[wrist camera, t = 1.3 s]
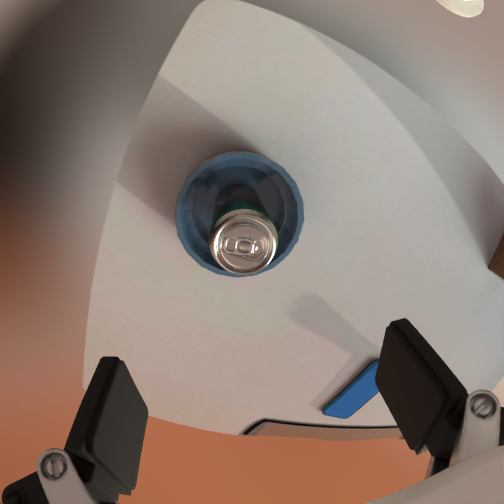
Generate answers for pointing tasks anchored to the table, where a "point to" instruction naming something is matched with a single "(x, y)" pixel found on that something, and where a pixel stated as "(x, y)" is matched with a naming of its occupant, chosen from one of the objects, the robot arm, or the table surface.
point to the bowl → (230, 174)
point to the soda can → (242, 231)
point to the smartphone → (354, 395)
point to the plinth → (498, 261)
